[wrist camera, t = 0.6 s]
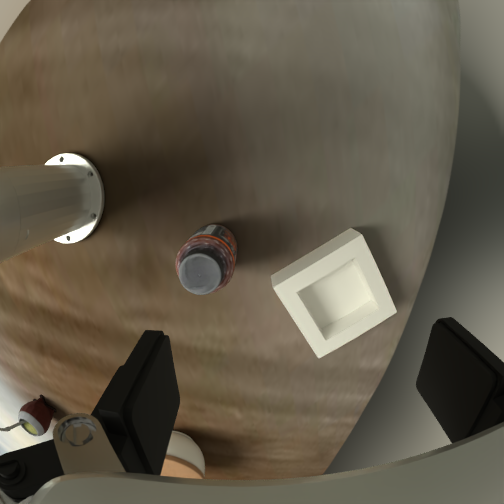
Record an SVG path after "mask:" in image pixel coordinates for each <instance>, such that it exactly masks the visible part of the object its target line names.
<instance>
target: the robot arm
mask: <svg viewBox="0 0 504 504" xmlns="http://www.w3.org/2000/svg"><path fill="white" fill-rule="evenodd" d="M92 173H93V176H92ZM103 208H104V188H103V183H102V180H101V177H100V175H99V173H98V171H97V169H96V167H95V166H94V165H93V164H92V162H90V161H89V160H88V159H87V158H85V157H83V156H81V155H79V154H75V153H63V154H59V155H57V156H54V157H53V158H51V159H50V160H49V161H48V162H47V163H46V164H45V165H27V166H9V167H0V263H2V262H4V261H6V260H8V259H10V258H12V257H15V256H17V255H19V254H21V253H24V252H26V251H28V250H30V249H33V248H35V247H37V246H40V245H42V244H44V243H47V242H49V241H51V240H55V241H58V242H60V243H66V244H70V243H76V242H78V241H81V240H83V239H85V238H86V237H88V236H89V235H90V234H91V233H92V232H93V231H94V230H95V228H96V227H97V225H98V223H99V221H100V219H101V216H102V213H103ZM95 214H96V216H95ZM416 387H417V389H418V391H419V393H420V394H421V396H422V397H423V399H424V400H425V402H426V403H427V405H428V406H429V408H430V409H431V411H432V413H433V414H434V416H435V417H436V419H437V420H438V422H439V423H440V425H441V426H442V428H443V430H444V431H445V433H446V434H447V436H448V438H449V439H450V441H451V442H452V444H450V445H447V446H444V447H441V448H438V449H435V450H432V451H429V452H426V453H423V454H420V455H417V456H413V457H409V458H406V459H402V460H398V461H395V462H391V463H386V464H382V465H378V466H373V467H369V468H364V469H358V470H353V471H348V472H341V473H335V474H328V475H320V476H312V477H302V478H290V479H273V480H211V479H194V478H182V477H172V476H160V475H161V472H162V468H163V464H164V460H165V456H166V453H167V449H168V445H169V441H170V438H171V434H172V430H173V427H174V423H175V420H176V416H177V412H178V409H179V405H180V395H179V390H178V385H177V380H176V374H175V369H174V363H173V357H172V351H171V345H170V339H169V336H168V335H164V333H163V331H154V330H145V332H144V333H143V335H142V336H141V338H140V340H139V341H138V343H137V344H136V346H135V348H134V349H133V351H132V353H131V354H130V356H129V358H128V359H127V361H126V363H125V364H124V365H122V366H120V367H119V368H118V370H117V372H116V373H115V375H114V376H113V378H112V380H111V381H110V383H109V385H108V386H107V388H106V390H105V391H104V393H103V395H102V397H101V398H100V400H99V402H98V403H97V405H96V407H95V408H94V410H93V412H92V414H91V415H88V414H85V413H75V414H70V415H68V416H65V417H63V418H62V419H61V420H59V421H58V422H57V424H56V425H55V426H54V429H53V439H52V440H49V441H46V442H42V443H39V444H36V445H33V446H30V447H26V448H23V449H19V450H16V451H12V452H9V453H6V454H3V455H1V456H0V504H504V362H502V361H501V360H500V359H499V358H498V357H497V356H496V355H495V354H494V353H492V352H491V351H490V350H489V349H488V348H487V347H486V346H485V345H484V344H483V343H481V342H480V341H479V340H478V339H477V338H476V337H474V336H473V335H472V334H471V333H470V332H469V331H467V330H466V329H465V328H464V327H463V326H462V325H461V324H459V323H458V322H457V321H456V320H455V319H453V318H452V317H449V318H441V319H438V320H437V321H436V323H435V324H433V326H432V330H431V333H430V337H429V341H428V345H427V348H426V352H425V355H424V359H423V362H422V365H421V369H420V372H419V375H418V378H417V381H416Z"/></svg>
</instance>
